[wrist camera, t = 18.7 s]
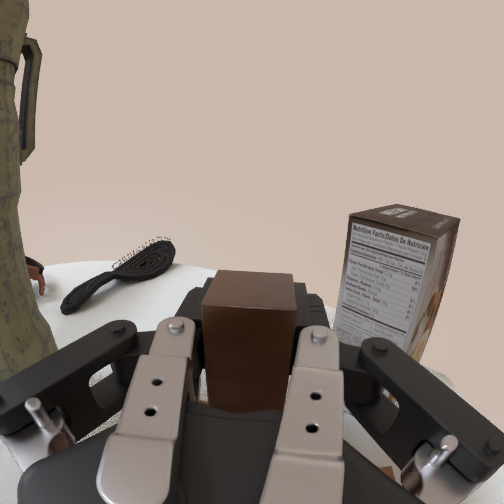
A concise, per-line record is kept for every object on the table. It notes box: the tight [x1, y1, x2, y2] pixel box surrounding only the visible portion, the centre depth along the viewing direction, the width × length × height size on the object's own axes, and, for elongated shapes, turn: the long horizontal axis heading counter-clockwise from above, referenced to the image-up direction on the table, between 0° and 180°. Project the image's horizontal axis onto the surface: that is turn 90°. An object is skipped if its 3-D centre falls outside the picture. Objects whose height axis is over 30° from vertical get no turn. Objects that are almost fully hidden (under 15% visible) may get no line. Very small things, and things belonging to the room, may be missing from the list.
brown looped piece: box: [25, 256, 45, 295], centre depth 33 cm, size 12×10×8 cm
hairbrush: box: [60, 239, 175, 315], centre depth 43 cm, size 8×4×25 cm
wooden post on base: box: [199, 270, 297, 413], centre depth 12 cm, size 7×6×13 cm
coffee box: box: [333, 204, 460, 415], centre depth 21 cm, size 9×6×16 cm
